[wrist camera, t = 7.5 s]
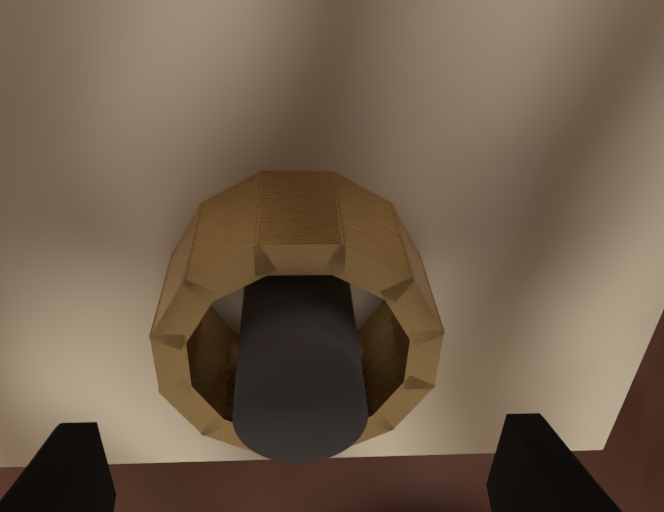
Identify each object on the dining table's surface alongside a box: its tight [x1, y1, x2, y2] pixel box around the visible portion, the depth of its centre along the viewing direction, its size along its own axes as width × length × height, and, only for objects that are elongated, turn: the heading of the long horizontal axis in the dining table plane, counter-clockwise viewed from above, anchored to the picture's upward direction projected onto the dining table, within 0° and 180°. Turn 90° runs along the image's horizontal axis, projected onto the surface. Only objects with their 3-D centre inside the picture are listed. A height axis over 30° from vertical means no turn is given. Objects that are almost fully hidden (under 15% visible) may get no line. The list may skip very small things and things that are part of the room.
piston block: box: [0, 0, 664, 467], centre depth 14 cm, size 20×14×6 cm
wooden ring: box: [149, 171, 445, 453], centre depth 14 cm, size 6×6×3 cm
